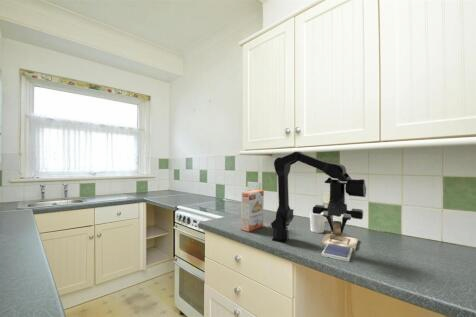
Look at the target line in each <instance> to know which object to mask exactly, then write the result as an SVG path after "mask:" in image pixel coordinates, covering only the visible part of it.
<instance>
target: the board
mask: <svg viewBox="0 0 476 317" xmlns="http://www.w3.org/2000/svg"><path fill="white" fill-rule="evenodd" d="M358 242H359V239H358V238H355V237H349V236H345V237H344V239H343V241H339V240H333V239H330V233H326V234H325V236H324V237H323V238H322V240H321V242H320V245H321V246H323V245H324V246H326V245H327V244H333V245H338V246H343V247H349V248H352V251H356V250H357V247H358V246H357V245H358Z"/></svg>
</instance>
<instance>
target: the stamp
mask: <svg viewBox="0 0 476 317" xmlns="http://www.w3.org/2000/svg"><path fill="white" fill-rule="evenodd" d="M341 226H342V221H339V220H333V232H332V231H331V232H330V233H329V234H330V239H333V240H339V241H343V239H344V237H346V236H345V233H344V232H343V233H341Z"/></svg>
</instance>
